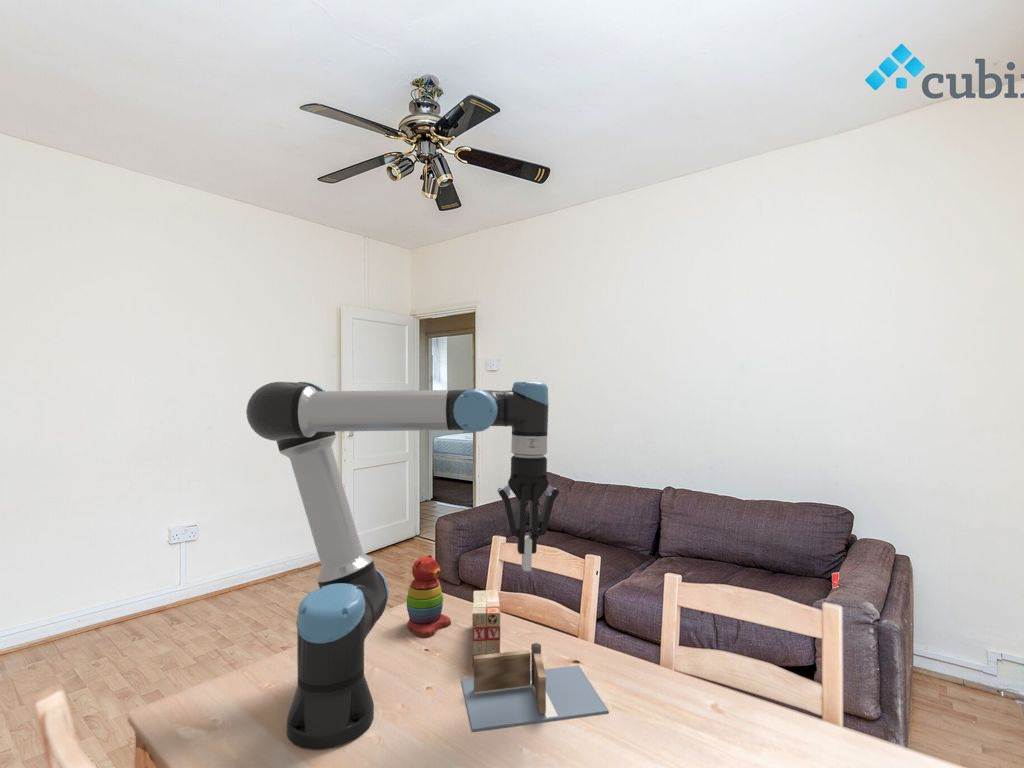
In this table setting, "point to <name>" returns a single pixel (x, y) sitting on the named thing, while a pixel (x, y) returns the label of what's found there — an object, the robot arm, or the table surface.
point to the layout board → (533, 701)
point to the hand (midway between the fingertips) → (526, 568)
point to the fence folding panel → (540, 682)
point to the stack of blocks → (485, 623)
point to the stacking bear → (425, 599)
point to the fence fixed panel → (504, 669)
